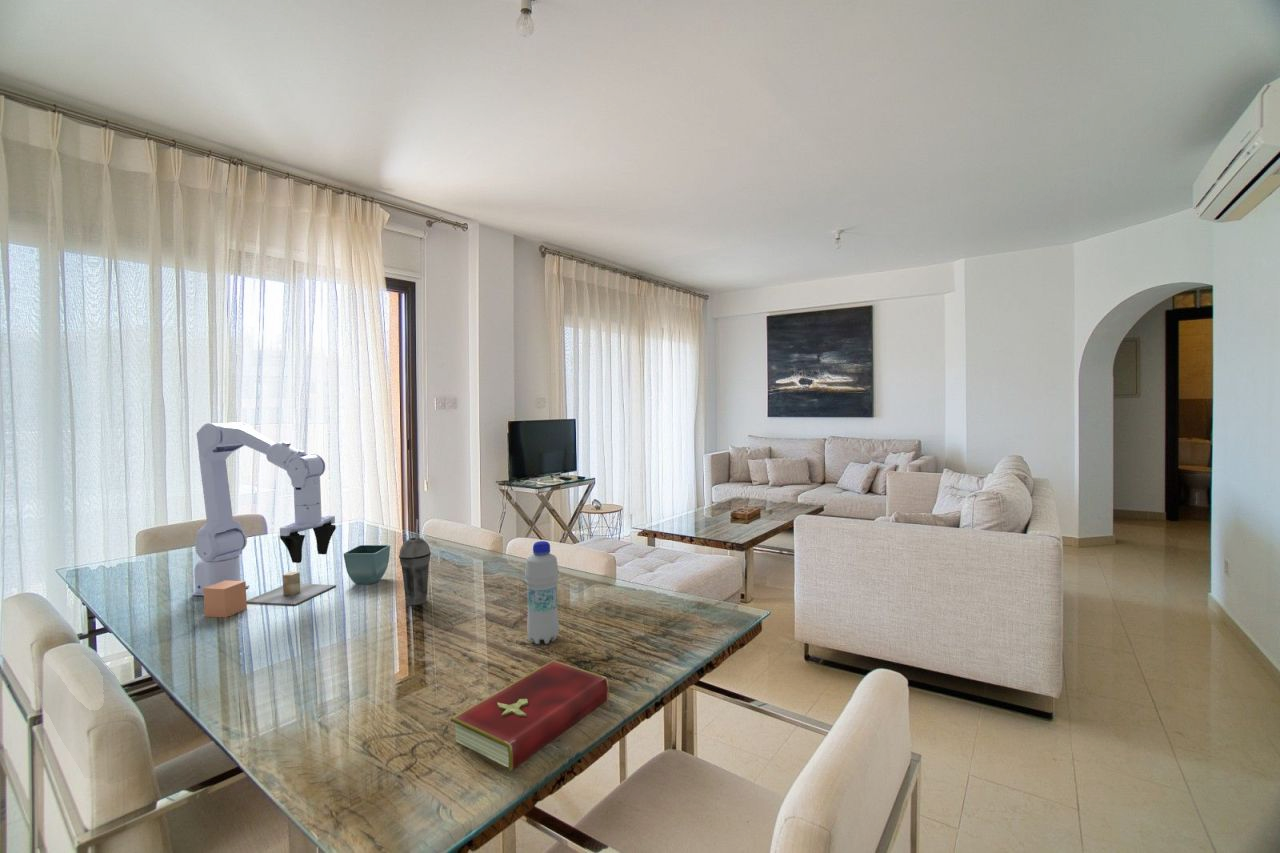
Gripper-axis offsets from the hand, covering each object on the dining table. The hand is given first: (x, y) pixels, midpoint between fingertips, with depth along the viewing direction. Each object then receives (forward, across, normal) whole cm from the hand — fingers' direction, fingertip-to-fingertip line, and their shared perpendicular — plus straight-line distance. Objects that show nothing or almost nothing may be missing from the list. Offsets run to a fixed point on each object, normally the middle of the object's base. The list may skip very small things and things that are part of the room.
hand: (309, 558), depth 140 cm
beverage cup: (+10, +3, -28) cm, 30 cm away
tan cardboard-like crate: (+10, -13, +11) cm, 20 cm away
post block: (+10, 0, +7) cm, 12 cm away
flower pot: (+10, +14, -5) cm, 18 cm away
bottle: (+10, -9, -68) cm, 69 cm away
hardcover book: (+10, -36, -79) cm, 87 cm away
